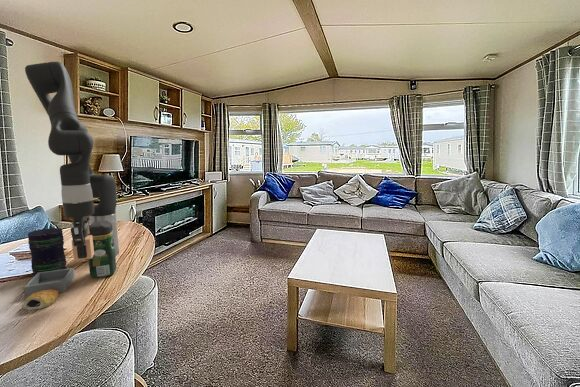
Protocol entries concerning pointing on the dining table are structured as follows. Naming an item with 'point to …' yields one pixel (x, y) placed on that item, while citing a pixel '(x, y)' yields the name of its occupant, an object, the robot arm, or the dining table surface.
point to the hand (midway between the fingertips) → (84, 254)
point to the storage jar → (47, 250)
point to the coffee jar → (102, 250)
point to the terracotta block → (88, 248)
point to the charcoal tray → (50, 281)
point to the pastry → (40, 299)
